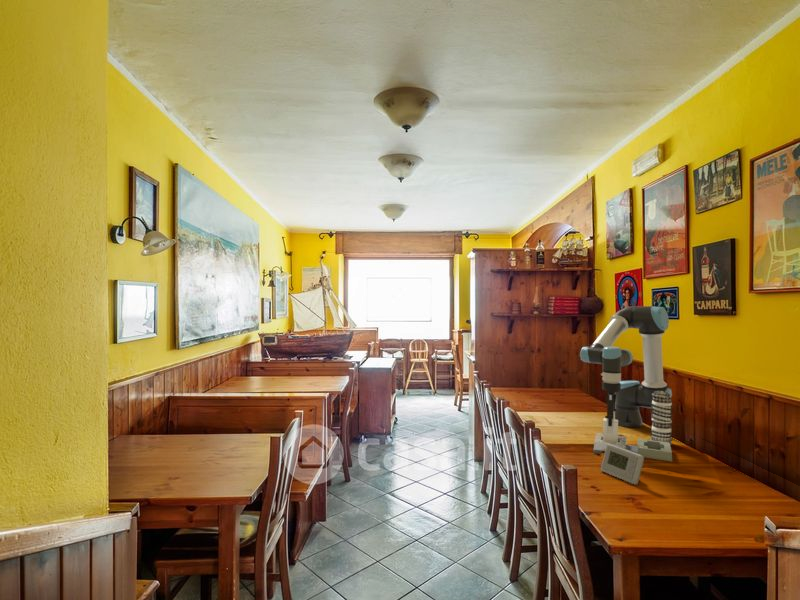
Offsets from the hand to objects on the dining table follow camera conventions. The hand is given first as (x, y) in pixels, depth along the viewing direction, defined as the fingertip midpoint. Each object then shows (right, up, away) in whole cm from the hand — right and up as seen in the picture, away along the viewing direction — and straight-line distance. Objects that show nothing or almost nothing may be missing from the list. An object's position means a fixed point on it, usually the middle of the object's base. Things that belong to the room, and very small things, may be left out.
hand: (610, 429), depth 206 cm
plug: (0, -8, 0) cm, 8 cm away
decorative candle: (+27, -10, +7) cm, 29 cm away
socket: (0, -8, 0) cm, 8 cm away
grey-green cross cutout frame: (+15, -8, -8) cm, 19 cm away
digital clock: (-10, -10, -31) cm, 35 cm away
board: (+7, -10, -4) cm, 13 cm away
